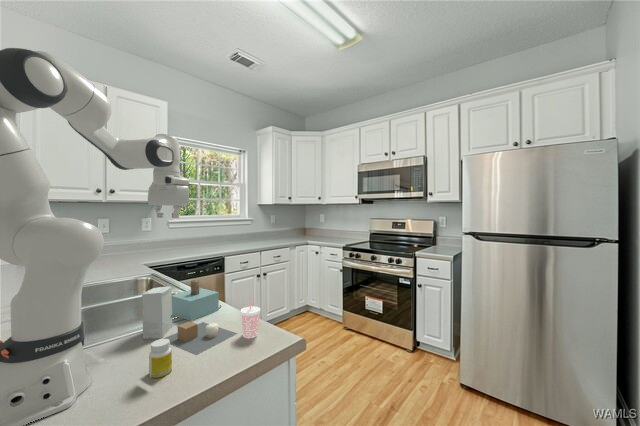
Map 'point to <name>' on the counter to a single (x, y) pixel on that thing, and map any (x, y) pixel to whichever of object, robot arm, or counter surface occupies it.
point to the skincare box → (157, 312)
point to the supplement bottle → (160, 359)
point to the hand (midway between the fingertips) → (167, 218)
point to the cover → (194, 302)
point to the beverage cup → (250, 321)
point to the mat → (199, 336)
